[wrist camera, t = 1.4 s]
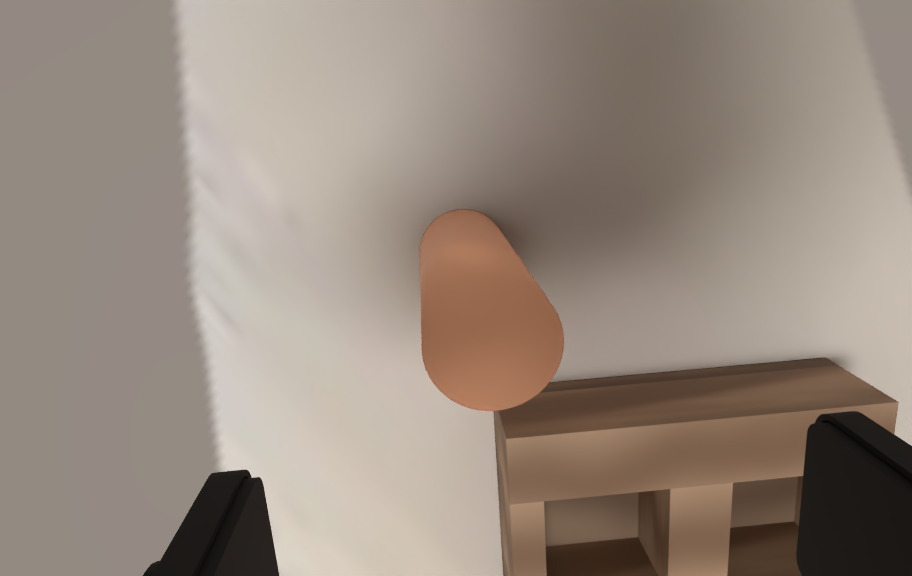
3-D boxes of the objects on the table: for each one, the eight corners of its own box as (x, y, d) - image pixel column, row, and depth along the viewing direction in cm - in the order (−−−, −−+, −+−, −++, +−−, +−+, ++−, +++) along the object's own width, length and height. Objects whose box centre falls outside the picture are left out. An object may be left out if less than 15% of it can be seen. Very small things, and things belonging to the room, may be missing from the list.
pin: (415, 213, 28) (415, 283, 17) (503, 206, 28) (562, 271, 17) (423, 297, 29) (427, 417, 18) (507, 289, 30) (565, 404, 18)
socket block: (492, 388, 31) (506, 439, 26) (825, 357, 32) (898, 402, 27) (503, 587, 34) (518, 664, 29) (805, 556, 35) (867, 627, 30)
